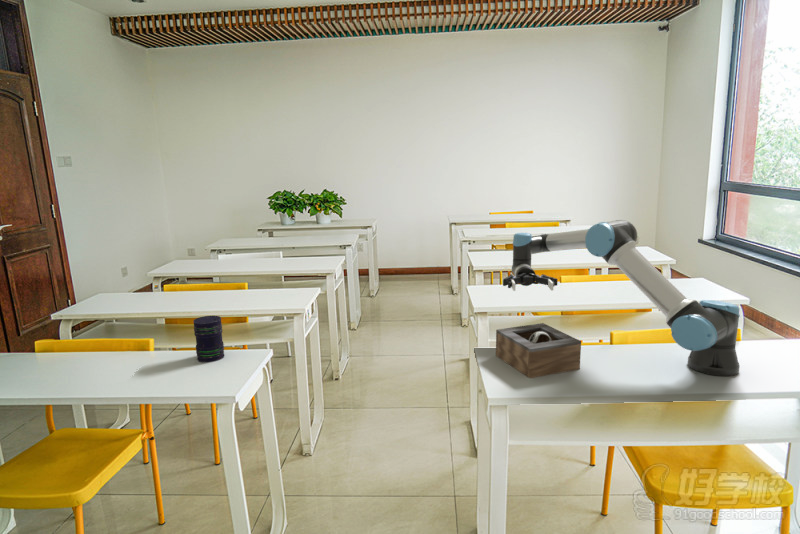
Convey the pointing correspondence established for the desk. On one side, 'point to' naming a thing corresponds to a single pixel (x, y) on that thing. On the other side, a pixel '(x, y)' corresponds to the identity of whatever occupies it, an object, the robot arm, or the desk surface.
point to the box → (538, 350)
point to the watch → (535, 336)
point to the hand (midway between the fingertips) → (533, 286)
